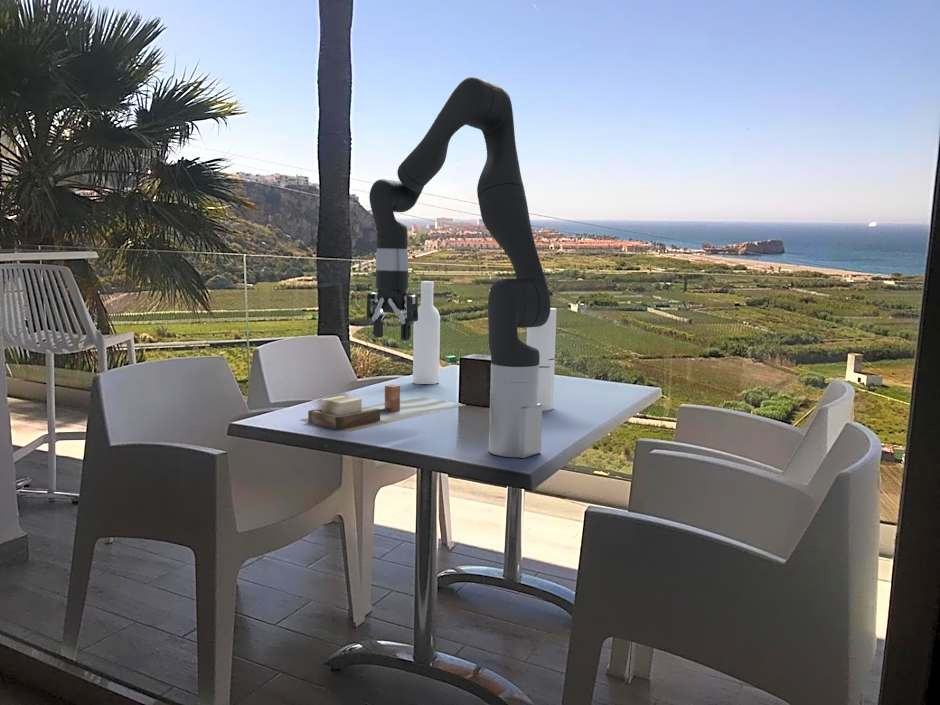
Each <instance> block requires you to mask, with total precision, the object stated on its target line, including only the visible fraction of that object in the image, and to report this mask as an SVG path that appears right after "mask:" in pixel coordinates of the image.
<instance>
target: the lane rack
mask: <svg viewBox="0 0 940 705" xmlns="http://www.w3.org/2000/svg"><path fill="white" fill-rule="evenodd" d="M460 407H467V404H464V403H459V402H451V401H446V400H442V399H435V398H431V397H430V398H428V397H423V396H414V397H409V398H404V399H400V411H397V412H393V413H392V412H387V411H386V412H381V413H380V409H384V408H385V402H384V403H383V402H382V403H378V404H374V405H373V404H372V405H369V406H363V407H361V412H356V413H351V414H346V415H341V416H339V415H334V414H329V413H325V412H322V407H320V408H316V409H315V408H314V409H311V410H308V414H307V418H303V419H300V421H301V422H306V423H311V424H315V425H319V426H324V427H327V428H333V429H336V430H340V431H345V432H353V431H358V430H362V429H366V428H371V427H375V426H380V425H384V424H388V423H393V422H397V421H401V420H407V419H411V418H415V417H420V416H425V415H429V414H433V413H437V412H442V411H445V410H450V409H455V408H460Z"/></svg>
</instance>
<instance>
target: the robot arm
mask: <svg viewBox="0 0 940 705" xmlns="http://www.w3.org/2000/svg"><path fill="white" fill-rule="evenodd" d="M514 122H515V121H514V112H513V104H512V101H511V96H510V95H509V93H508V91H507V90H506V89H504V88H503V87H502V86H500V85H498V84H496V83H493V82H491V81H487V80H485V79H483V78H480V77H476V76H469V77H466V78H465V79H463V80H462V81H461V82H460V83H459V84H458V85H457V87H455V89H454V90H453V91H452V93H451V95H450V96H449V97H448V99H447V100H446V102H445V104H444V105H443V106H442V109H441V110H440V111H439V113H438V114H437V116H436V118H435V120H434V121H433V122H432V124H431V126H430V128H428V129H429V130H428V131H427V133H425V135H424V137H423V138H422V139H421V141H419V143H418V144H417V145H416V146H415V148H414V149H413V150H412V151H411V152H410V153H409V154H408V155H407V157H406V158H405V159H404V160H403V161H402V162H401V163H400V164H399V166H398V169H397V173H396V174H397V177H398V180H392V179H385V178H384V179H383V178H381V179H377V180H376V181H375V182H373V184H372V185H371V188H370V189H369V195H368V196H369V197H368V198H369V205H370V208H371V213H372V217H373V221H374V225H375V228H376V254H375V289H376V290H377V292H369V293H367V295H366V296H367V297H366V318H367V319H370V320H371V321H372V323H373V324H372V325H373V327H372V328H373V331H372V332H373V336H374V338H383V336H384V322H383V319H384V317H385V316H386V315H387V314H388V313H391V314H395V316H397V317H398V319H399V321H400V323H401V324H400V340H401V341H409V340H410V338H411V336H412V334H411V331H412V329H411V328H412V327H411V326H412V324H413V323H414V322H415V321H418V308H419V306H418V304H419V303H418V302H419V301H418V296H417V295H416V294H410V295H408V294H407V290H408V289H409V254H408V252H409V251H408V247H409V246H408V245H409V244H408V238H409V237H408V236H409V235H408V234H409V233H408V227H407V225H405V224H404V223H401V222H400V221H397V218H396V215H395V213H405V212H407V211H409V210H412V208H414V207H415V205H416V203H418V202H417V201H418V200H419V197H420V195H421V194H422V192H423V190H424V188H425V186H426V185H427V184H428V183H429V182H430V181H431V180H432V179H433V178H434V177H435V176H436V175H437V174H438V173H439V171H440V170H441V169H442V168H443V165H444V163H445V162H446V159H447V155H448V154H447V153H448V148H449V143H450V140H451V139H452V137H453V136H454V135H455V134H456V133H457V132H458V131H459V130H460V129H461V128H462V127H464V126H469V127H471V128H475V129H478V130H480V131H481V132H482V134H483V138H484V143H485V147H486V149H485V150H486V159H485V163H484V166H483V168H482V171H481V173H480V176H479V179H478V183H477V187H476V190H477V191H476V194H477V200H478V205H479V211H480V217H481V220H482V223H483V224H484V227H485V228H486V230H487V231H488V233H489V234H490V236H492V238H493V240H494V241H495V242H496V243H497V245H499V246H500V248H501V249H502V250H503V252H504V253H505V255H507V257H508V260H509V261H510V263H511V264H512V267H513V270H514V273H515V277H516V278H501V279H497V280H496V281H495V282H493V283H492V285H491V286H490V290H489V292H488V297H487V298H488V299H487V318H488V325H487V327H488V347H489V352H490V383H489V385H490V387H489V388H490V390H489V393H490V394H489V426H488V427H489V428H488V434H489V435H488V451H489V453H491V454H493V455H496V456H499V457H505V458H520V459H525V458H528V457H531V456H534V455H537V454H539V453H541V452H542V436H543V435H542V431H543V430H542V428H543V427H542V426H543V411H542V404H540V403H538V389H539V360H540V354H539V351H538V349H536V348H534V347H532V346H529V345H526V343H524V342H523V341H521V340H520V338H519V334H518V328H519V329H521V328H526V329H527V327H539V326H542V325H544V324H545V323H546V322H547V320H548V318H549V315H550V308H552V307H551V296H550V292H549V291H550V290H549V287H548V282H547V279H546V276H545V273H544V270H543V266H542V264H541V261H540V257H539V254H538V250H537V246H536V243H535V238H534V234H533V228H532V223H531V219H530V213H529V206H528V202H527V197H526V191H525V186H524V183H523V179H522V174H521V168H520V162H519V157H518V150H517V144H516V143H517V142H516V135H515V134H516V133H515V123H514Z"/></svg>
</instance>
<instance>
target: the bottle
mask: <svg viewBox="0 0 940 705" xmlns="http://www.w3.org/2000/svg"><path fill="white" fill-rule="evenodd" d="M434 288H435V285H434V281H432V280H431V281H429V280H422V281H420V306H418V321H415V322H413V332H412V334H413V335H412V336H413V337H412V338H413V342H412V344H413V346H412V348H413V349H412V351H413V352H412V353H413V357H412V360H413V361H412V383H413V384H415V385H419V384H434V385H437V384H436V383H438V384H439V383H440V376H441V375H440V355H441V354H440V349H441V347H440V346H441V344H440V343H441V339H440V338H441V316H440V313H439V312H440V311H439V310H438V309H437V308H436V307H435V306H434Z"/></svg>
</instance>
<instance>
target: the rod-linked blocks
mask: <svg viewBox="0 0 940 705" xmlns="http://www.w3.org/2000/svg"><path fill="white" fill-rule="evenodd" d="M400 400H401V385H397V384H389V385H384V403H385V408H384V409H380V413H381V412H386V411H387V412H392V413H393V412H397V411H400ZM321 403H322V404H321V408H322V412H325V413H329V414H334V415H339V416H341V415H346V414H351V413H356V412H361V408H362V399H361V398H357V397H352V396H347V395H339V396H334V397H328V398H322V400H321Z"/></svg>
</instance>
